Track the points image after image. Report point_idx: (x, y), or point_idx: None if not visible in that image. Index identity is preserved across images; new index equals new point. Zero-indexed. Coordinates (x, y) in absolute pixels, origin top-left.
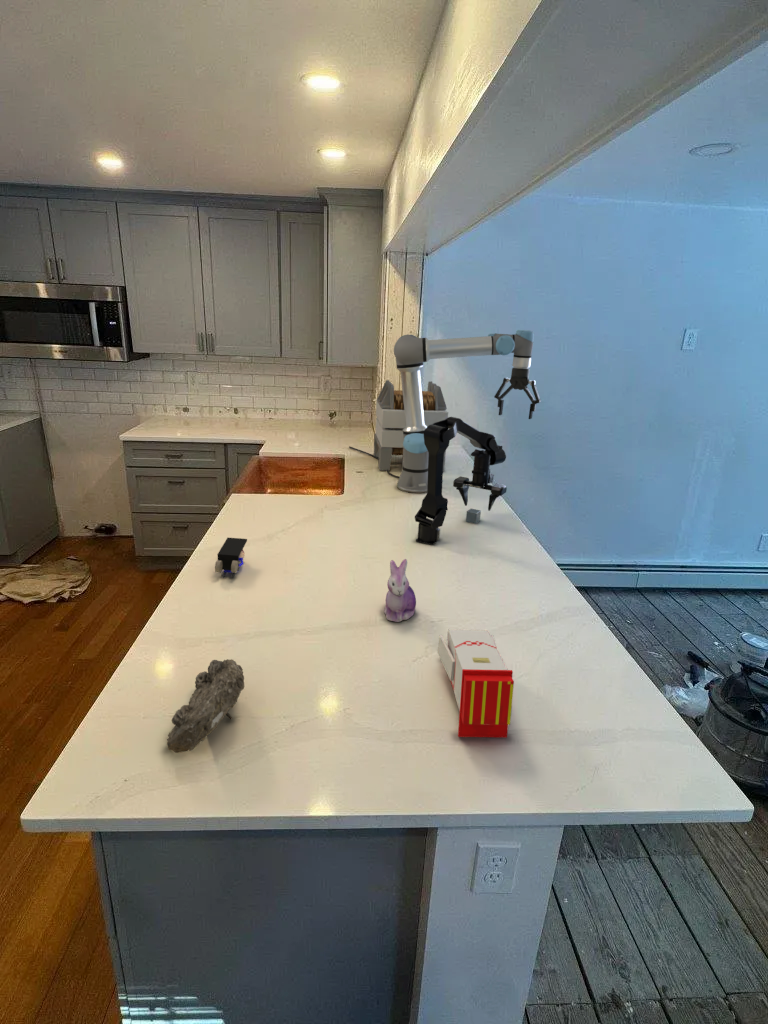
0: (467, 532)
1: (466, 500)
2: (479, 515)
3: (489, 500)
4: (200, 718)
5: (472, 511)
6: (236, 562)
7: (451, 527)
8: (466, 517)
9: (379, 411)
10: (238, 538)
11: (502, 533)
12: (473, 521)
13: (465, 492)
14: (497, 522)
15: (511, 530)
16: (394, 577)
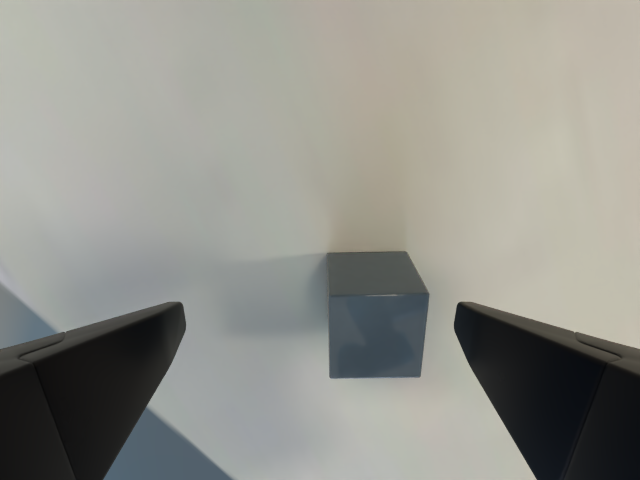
0: (309, 32)
1: (486, 350)
2: (328, 334)
3: (47, 355)
4: None
5: (383, 321)
6: None
7: (472, 60)
8: (412, 267)
9: None
10: None
11: (87, 197)
12: (347, 259)
13: (594, 439)
14: (222, 359)
15: (78, 286)
16: None
